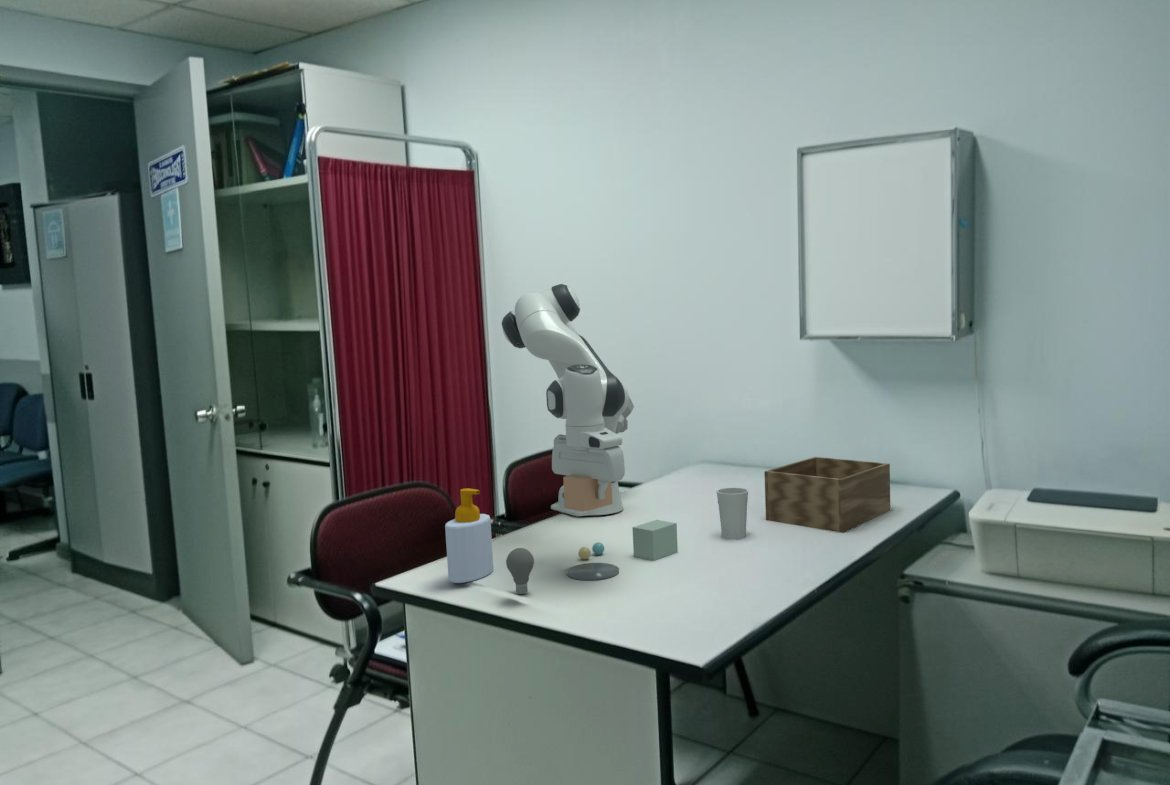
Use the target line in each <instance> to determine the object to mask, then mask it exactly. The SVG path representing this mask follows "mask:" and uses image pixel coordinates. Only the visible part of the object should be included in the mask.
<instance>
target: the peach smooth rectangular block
mask: <svg viewBox="0 0 1170 785" xmlns="http://www.w3.org/2000/svg"><path fill="white" fill-rule="evenodd" d="M562 478H563V480H562V481H563V485H564V501H565V508H567V509H572V510H578V511H584V512H585V511H589V510H593V509H596V508H600V507H603V506H607V505H611V504H612V484H611V482H610V481H609V484H608V486H607V488H606V491H605V498H604V499H596V495H595V491H598V489H599V486H600V485H599V484H598V480H596V479H592V478H591V477H583V476H576V475H569V476H567V475H564V476H563V477H562Z"/></svg>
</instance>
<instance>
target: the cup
mask: <svg viewBox="0 0 1170 785" xmlns="http://www.w3.org/2000/svg"><path fill="white" fill-rule="evenodd" d="M716 496H717V504H718V512H719V520H720V530H721V538H722V539H724V540H731V541H732V540H742V539H745V538H746V537H747V520H748V519H747V516H748V501H749V490H748V489H747V488H743V487H722V488H719V489H717V490H716Z"/></svg>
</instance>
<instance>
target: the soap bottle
mask: <svg viewBox="0 0 1170 785" xmlns="http://www.w3.org/2000/svg"><path fill="white" fill-rule="evenodd" d="M459 491H460V492H459V493H460V505H459V506H457V507H456V509H455V513H454V519H451V520H449V521H447V522H446V523H445V525H444V529H445V544H446V546H445V547H446V557H447V558H446V560H447V563H446V564H447V575H448V577H447V578H448V581H449V582H451V583H454V584H462V583H463V584H464V583H469V582H472V581H477V580H480V579H482V578H485V577H487V576H489V575H490V574H492V572H493V571H494V556H493V541H492V522H491V520H492V519H491V517H490V515H489V514H486V513H480V511H481V510H480V508H479V506H477V505H475V504H474V503H473V495H479V494H480V492H481V491H480V489H475V488H468V487H467V488H462V489H460V490H459Z"/></svg>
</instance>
